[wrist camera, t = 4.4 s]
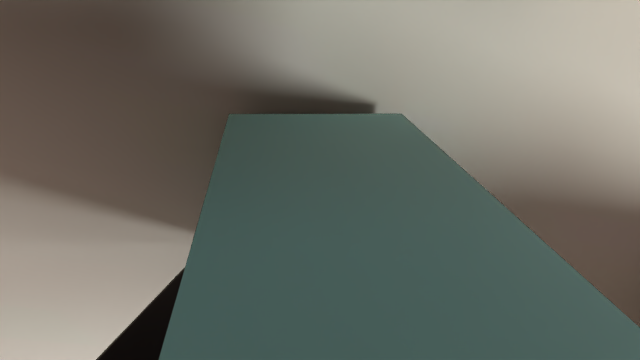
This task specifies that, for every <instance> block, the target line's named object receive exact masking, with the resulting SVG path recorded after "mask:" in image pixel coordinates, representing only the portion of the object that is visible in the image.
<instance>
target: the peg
mask: <svg viewBox="0 0 640 360" xmlns="http://www.w3.org/2000/svg"><path fill="white" fill-rule="evenodd" d="M159 360H640V327H638V326H637V325H636V324H635V323H634V322H633V321H632V320H631V319H630V318H628V317H627V316H626V315H625V314H624V313H623V312H622V311H621V310H620V309H618V308H617V307H616V306H615V305H614V304H613V303H612V302H611V301H610V300H608V299H607V298H606V297H605V296H604V295H603V294H602V293H601V292H599V291H598V290H597V289H596V288H595V287H594V286H593V285H592V284H591V283H589V282H588V281H587V280H586V279H585V278H584V277H583V276H582V275H581V274H579V273H578V272H577V271H576V270H575V269H574V268H573V267H572V266H571V265H569V264H568V263H567V262H566V261H565V260H564V259H563V258H562V257H561V256H559V255H558V254H557V253H556V252H555V251H554V250H553V249H552V248H550V247H549V246H548V245H547V244H546V243H545V242H544V241H543V240H542V239H540V238H539V237H538V236H537V235H536V234H535V233H534V232H533V231H532V230H530V229H529V228H528V227H527V226H526V225H525V224H524V223H523V222H522V221H520V220H519V219H518V218H517V217H516V216H515V215H514V214H513V213H511V212H510V211H509V210H508V209H507V208H506V207H505V206H504V205H503V204H501V203H500V202H499V201H498V200H497V199H496V198H495V197H494V196H493V195H491V194H490V193H489V192H488V191H487V190H486V189H485V188H484V187H483V186H481V185H480V184H479V183H478V182H477V181H476V180H475V179H474V178H473V177H471V176H470V175H469V174H468V173H467V172H466V171H465V170H464V169H462V168H461V167H460V166H459V165H458V164H457V163H456V162H455V161H454V160H452V159H451V158H450V157H449V156H448V155H447V154H446V153H445V152H444V151H442V150H441V149H440V148H439V147H438V146H437V145H436V144H435V143H434V142H432V141H431V140H430V139H429V138H428V137H427V136H426V135H425V134H424V133H422V132H421V131H420V130H419V129H418V128H417V127H416V126H415V125H413V124H412V123H411V122H410V121H409V120H408V119H407V118H406V117H405V116H403V115H402V114H229V116H228V120H227V123H226V127H225V130H224V134H223V137H222V141H221V144H220V148H219V151H218V155H217V158H216V162H215V165H214V169H213V172H212V176H211V179H210V183H209V186H208V189H207V193H206V196H205V200H204V203H203V207H202V210H201V214H200V217H199V221H198V224H197V228H196V231H195V235H194V238H193V242H192V245H191V249H190V252H189V256H188V259H187V263H186V266H185V270H184V273H183V277H182V280H181V284H180V287H179V291H178V294H177V298H176V301H175V305H174V308H173V311H172V315H171V318H170V322H169V325H168V329H167V332H166V336H165V339H164V343H163V346H162V350H161V353H160V357H159Z"/></svg>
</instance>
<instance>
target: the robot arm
mask: <svg viewBox="0 0 640 360" xmlns="http://www.w3.org/2000/svg"><path fill="white" fill-rule="evenodd" d="M184 270H185V268H184V269H183V270H182V271H181V272H180V273H179V274H178V275H177V276H176V277H175V278H174V279H173V280H172V281H171V282H170V283H169V284H168V285H167V286H166V287H165V288H164V289H163V290H162V292H161V293H160V294H159V295H158V296H157V297H156V298H155V299H154V300H153V301H152V302H151V303H150V304H149V305H148V306H147V307H146V308H145V309H144V310H143V311H142V312H141V313H140V314H139V315H138V317H137V318H136V319H135V320H134V321H133V322H132V323H131V324H130V325H129V326H128V327H127V328H126V329H125V330H124V331H123V332H122V333H121V334H120V335H119V336H118V337H117V338H116V339H115V340H114V341H113V343H112V344H111V345H110V346H109V347H108V348H107V349H106V350H105V351H104V352H103V353H102V354H101V355H100V356H99V357H98V358H97V359H96V360H159V357H160V353H161V350H162V346H163V343H164V339H165V336H166V332H167V329H168V325H169V322H170V318H171V315H172V311H173V308H174V305H175V301H176V298H177V294H178V291H179V287H180V284H181V280H182V277H183V273H184Z"/></svg>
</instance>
